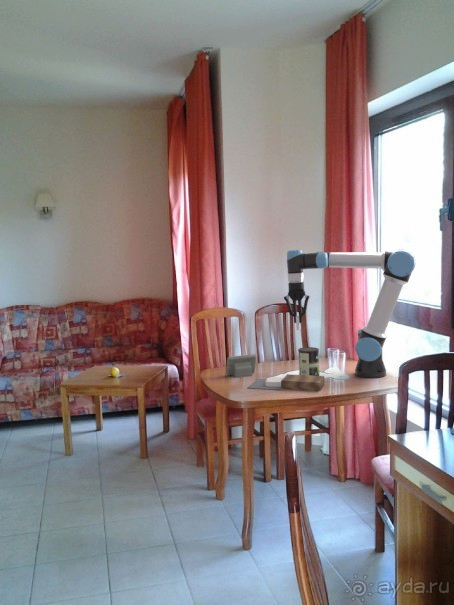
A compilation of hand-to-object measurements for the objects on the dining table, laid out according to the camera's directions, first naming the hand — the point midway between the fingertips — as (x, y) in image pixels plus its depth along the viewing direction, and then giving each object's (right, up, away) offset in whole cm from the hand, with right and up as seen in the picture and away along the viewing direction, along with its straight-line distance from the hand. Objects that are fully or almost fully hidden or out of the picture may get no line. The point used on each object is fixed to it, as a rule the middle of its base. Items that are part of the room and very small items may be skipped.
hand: (298, 329), depth 260 cm
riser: (+1, -26, -12) cm, 29 cm away
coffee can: (+6, -24, +6) cm, 26 cm away
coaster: (-12, -26, -7) cm, 29 cm away
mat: (-15, -26, -6) cm, 31 cm away
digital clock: (-28, -25, +16) cm, 40 cm away
